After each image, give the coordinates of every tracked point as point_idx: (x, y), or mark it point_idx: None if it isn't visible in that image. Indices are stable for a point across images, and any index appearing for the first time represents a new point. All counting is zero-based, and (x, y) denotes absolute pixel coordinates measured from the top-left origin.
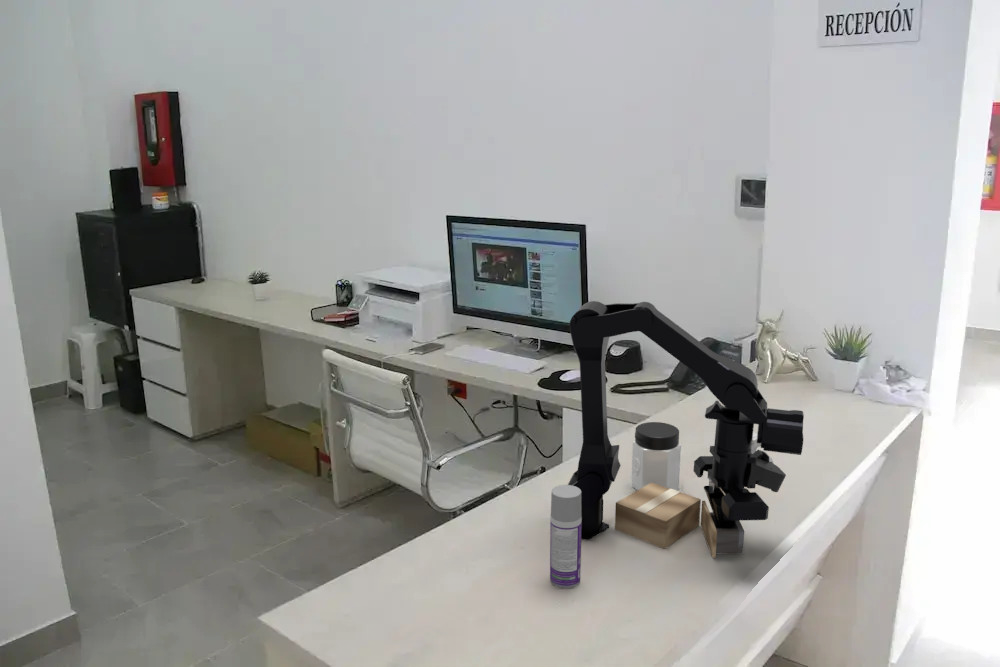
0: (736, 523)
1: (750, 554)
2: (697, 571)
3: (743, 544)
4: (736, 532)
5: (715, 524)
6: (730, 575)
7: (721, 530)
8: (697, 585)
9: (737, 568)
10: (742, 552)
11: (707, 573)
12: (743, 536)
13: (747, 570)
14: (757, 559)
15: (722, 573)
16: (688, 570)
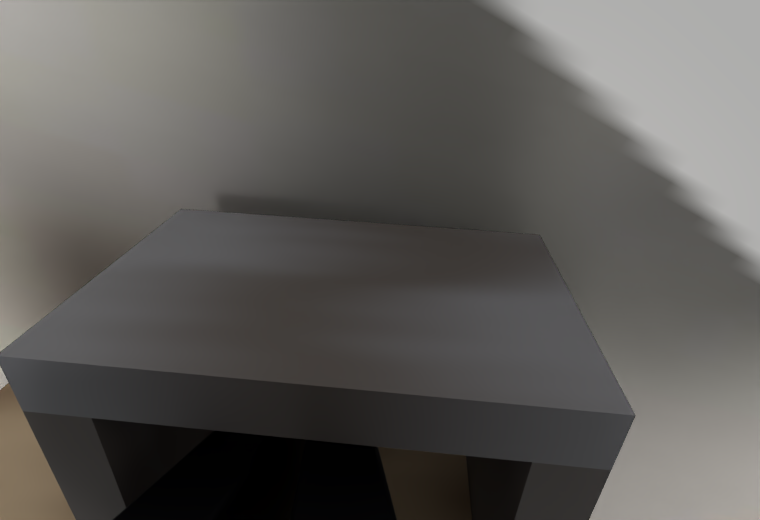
0: (355, 436)
1: (444, 116)
2: (614, 485)
3: (565, 286)
4: (593, 480)
5: (198, 440)
6: (723, 348)
7: None
8: (757, 516)
9: (646, 281)
10: (544, 246)
11: (651, 451)
12: (601, 361)
13: (699, 218)
14: (541, 75)
15: (680, 383)
16: (592, 514)
